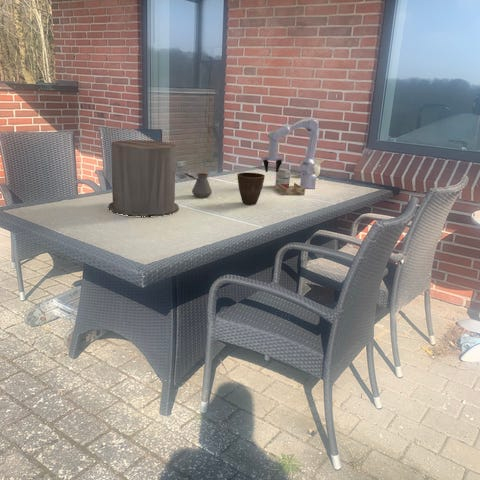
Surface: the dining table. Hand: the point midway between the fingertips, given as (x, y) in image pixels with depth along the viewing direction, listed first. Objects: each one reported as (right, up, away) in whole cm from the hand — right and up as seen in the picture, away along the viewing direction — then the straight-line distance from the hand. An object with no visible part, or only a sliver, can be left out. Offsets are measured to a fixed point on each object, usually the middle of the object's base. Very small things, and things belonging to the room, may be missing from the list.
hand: (271, 171), depth 319 cm
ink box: (+7, -9, +8) cm, 14 cm away
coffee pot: (-45, -20, -35) cm, 60 cm away
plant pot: (-15, -23, -42) cm, 51 cm away
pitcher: (+31, +2, +48) cm, 58 cm away
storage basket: (-69, -28, -65) cm, 99 cm away
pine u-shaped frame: (+11, -13, -6) cm, 18 cm away
